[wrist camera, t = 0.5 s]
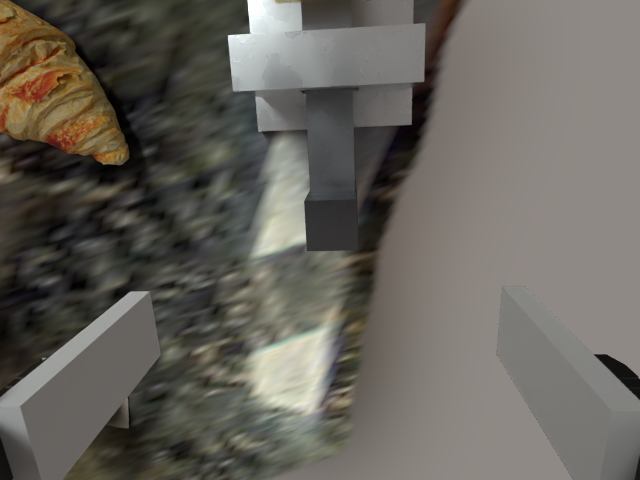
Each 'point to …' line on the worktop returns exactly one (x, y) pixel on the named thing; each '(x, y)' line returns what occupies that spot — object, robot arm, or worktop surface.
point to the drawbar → (330, 147)
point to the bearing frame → (330, 62)
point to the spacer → (295, 1)
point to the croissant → (53, 91)
